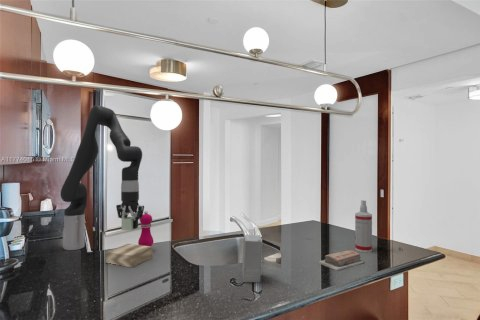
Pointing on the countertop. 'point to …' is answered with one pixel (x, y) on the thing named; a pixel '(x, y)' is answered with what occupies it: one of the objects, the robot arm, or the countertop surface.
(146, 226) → the pepper mill
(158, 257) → the countertop surface
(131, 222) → the cube
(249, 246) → the skincare box
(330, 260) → the soap bar on dish
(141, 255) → the pedestal
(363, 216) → the spray bottle
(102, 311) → the countertop surface
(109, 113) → the robot arm
